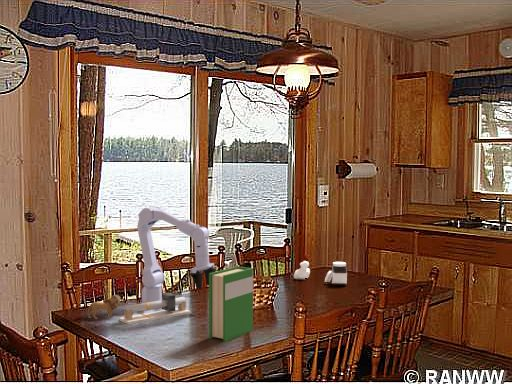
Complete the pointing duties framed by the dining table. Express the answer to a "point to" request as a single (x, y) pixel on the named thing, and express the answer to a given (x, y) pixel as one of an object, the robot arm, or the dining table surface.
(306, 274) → the duck figurine
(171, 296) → the collar
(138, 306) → the pipe stand
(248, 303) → the hardback book
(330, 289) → the dining table surface
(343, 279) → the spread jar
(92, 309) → the lion figurine
